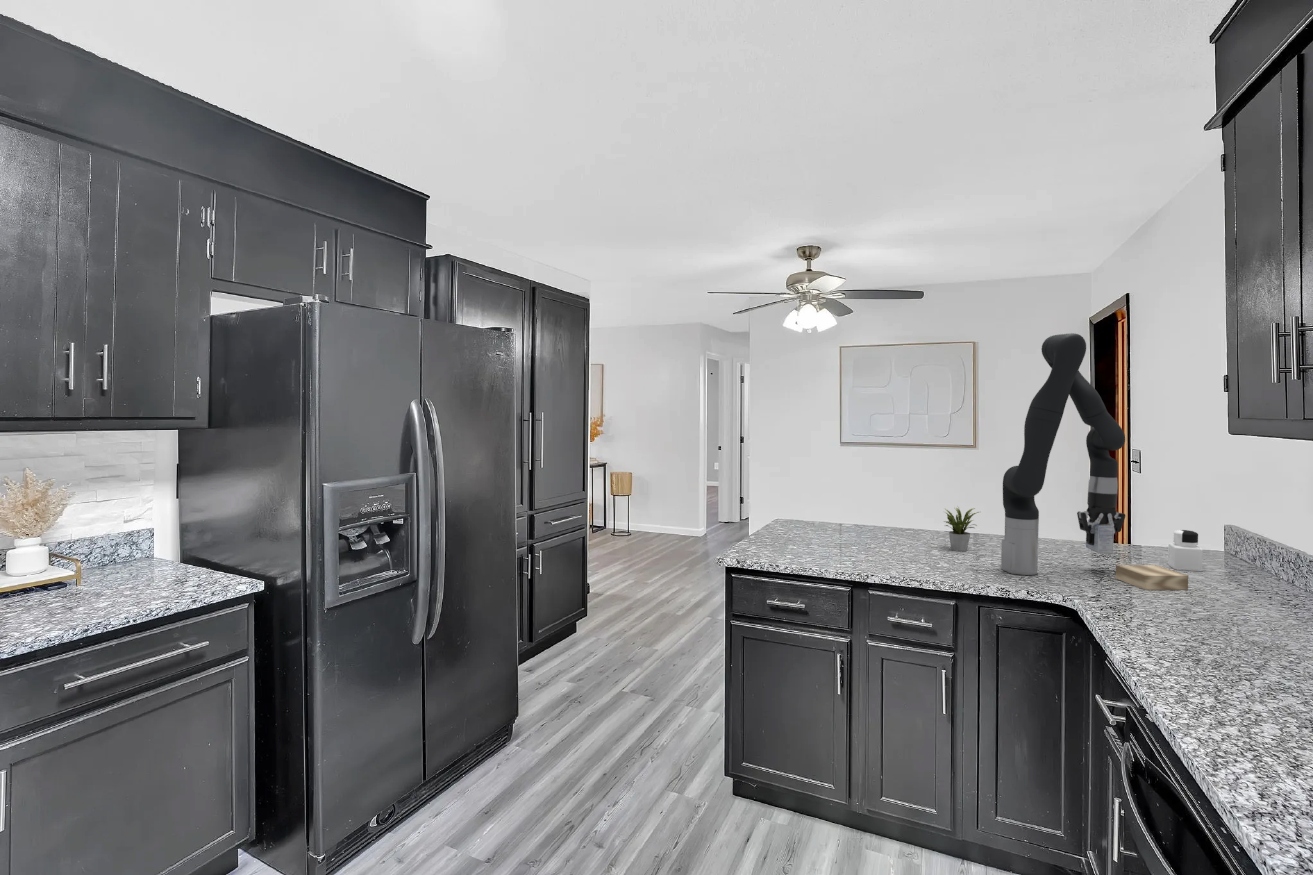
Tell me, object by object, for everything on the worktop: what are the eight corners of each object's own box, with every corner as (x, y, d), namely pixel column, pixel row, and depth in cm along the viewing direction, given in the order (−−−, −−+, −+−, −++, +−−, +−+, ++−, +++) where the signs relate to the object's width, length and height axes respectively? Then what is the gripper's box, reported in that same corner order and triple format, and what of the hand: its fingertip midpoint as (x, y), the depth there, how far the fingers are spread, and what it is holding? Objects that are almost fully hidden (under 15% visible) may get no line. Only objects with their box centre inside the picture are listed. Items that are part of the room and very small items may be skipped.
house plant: (987, 548, 235) (988, 504, 235) (983, 556, 224) (983, 509, 223) (944, 544, 243) (945, 501, 242) (938, 551, 231) (939, 506, 231)
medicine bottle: (1195, 566, 207) (1196, 529, 207) (1202, 571, 201) (1204, 533, 200) (1167, 564, 210) (1168, 528, 210) (1174, 569, 204) (1175, 532, 203)
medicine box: (1113, 554, 198) (1115, 526, 197) (1097, 553, 199) (1098, 525, 198) (1100, 548, 206) (1102, 521, 205) (1085, 547, 206) (1086, 520, 206)
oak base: (1144, 589, 182) (1145, 575, 182) (1115, 578, 194) (1115, 565, 194) (1187, 589, 182) (1188, 575, 182) (1155, 578, 194) (1156, 565, 194)
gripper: (1087, 492, 197) (1084, 547, 198) (1134, 493, 197) (1131, 548, 198) (1071, 489, 205) (1068, 541, 206) (1117, 489, 205) (1113, 542, 206)
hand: (1099, 544), depth 202 cm, fingers closed on medicine box, 5 cm apart
